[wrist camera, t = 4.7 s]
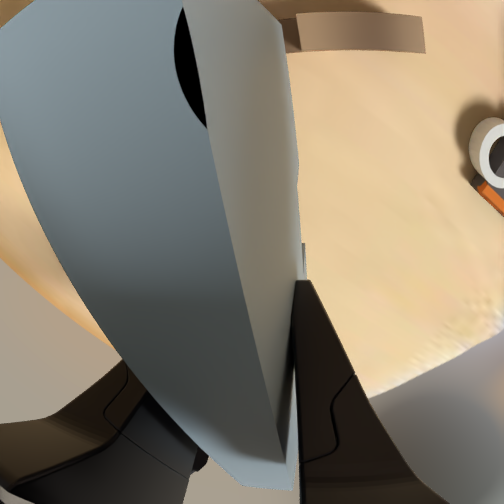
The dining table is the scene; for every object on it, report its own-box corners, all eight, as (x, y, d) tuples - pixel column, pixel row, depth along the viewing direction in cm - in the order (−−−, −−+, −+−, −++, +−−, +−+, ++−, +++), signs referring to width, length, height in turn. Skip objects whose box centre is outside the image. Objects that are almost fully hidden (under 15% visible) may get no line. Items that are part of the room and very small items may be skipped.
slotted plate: (308, 322, 16) (292, 490, 9) (271, 322, 17) (242, 485, 10) (281, 24, 8) (169, -70, 1) (222, 33, 8) (-17, 44, 1)
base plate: (152, 79, 17) (121, 88, 14) (146, 52, 16) (113, 56, 13) (402, 51, 14) (425, 53, 11) (399, 22, 13) (421, 16, 10)
